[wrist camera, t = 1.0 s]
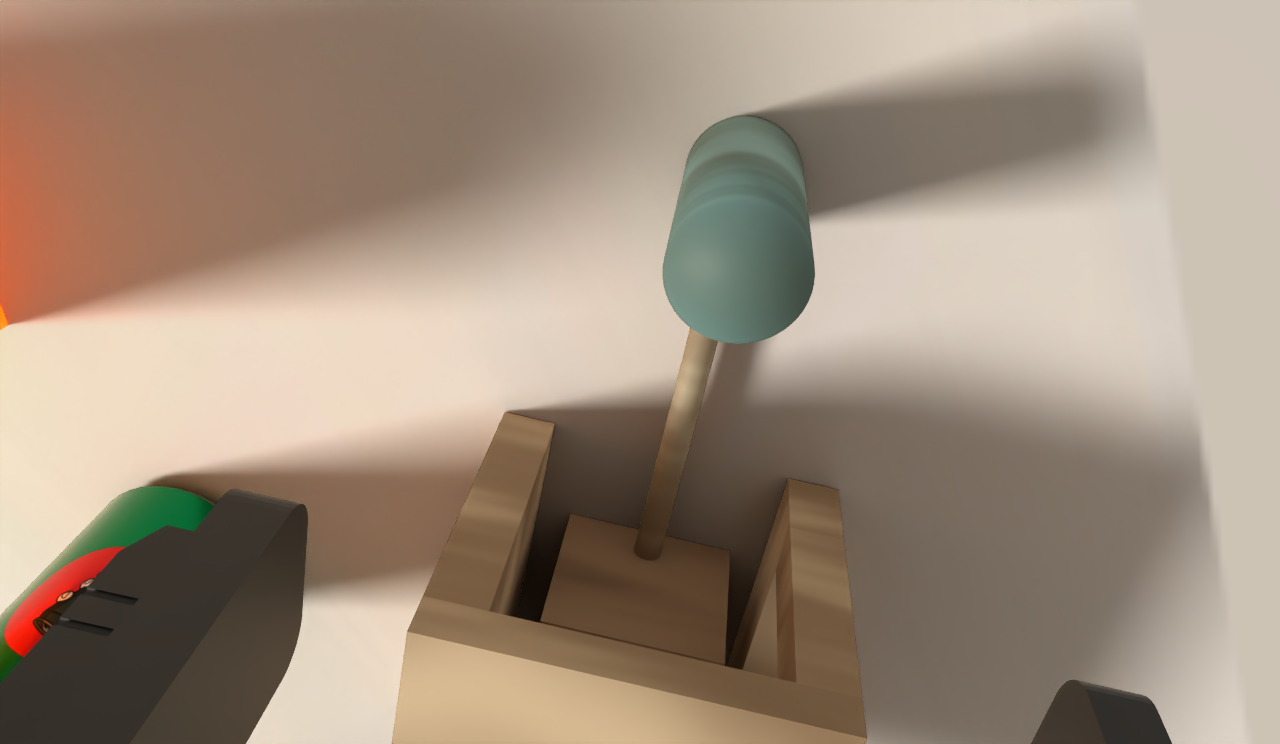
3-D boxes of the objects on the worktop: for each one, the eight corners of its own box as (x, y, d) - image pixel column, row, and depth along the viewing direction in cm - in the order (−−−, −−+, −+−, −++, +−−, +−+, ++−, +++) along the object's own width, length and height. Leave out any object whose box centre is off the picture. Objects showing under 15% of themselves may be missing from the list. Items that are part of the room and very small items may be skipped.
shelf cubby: (730, 794, 37) (720, 1084, 29) (450, 729, 37) (356, 999, 29) (838, 490, 31) (867, 738, 23) (505, 412, 31) (407, 631, 23)
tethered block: (692, 671, 35) (677, 852, 29) (543, 636, 35) (496, 810, 29) (856, 140, 27) (884, 233, 21) (660, 94, 27) (630, 174, 21)
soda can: (81, 489, 34) (-228, 786, 24) (221, 463, 33) (-34, 761, 23) (150, 613, 36) (-105, 938, 26) (284, 593, 35) (77, 922, 25)
